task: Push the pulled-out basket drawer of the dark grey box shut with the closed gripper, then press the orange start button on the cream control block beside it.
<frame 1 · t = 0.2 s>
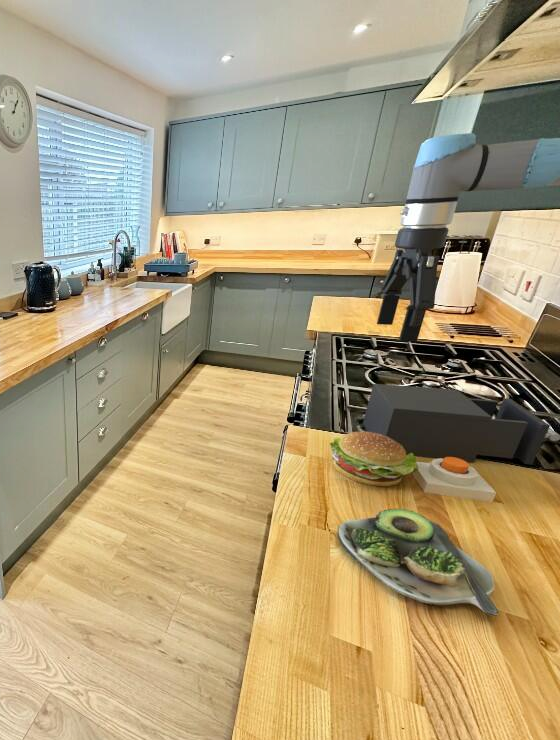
hand: (395, 332, 89), 26 cm above the table, tool pointing down, fingers open, 13 cm apart
start button: (454, 465, 80), point 4 cm above the table, slide at 0.1 cm
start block: (447, 484, 81), on the table
food: (366, 473, 86), on the table
dark grey box: (412, 441, 96), on the table
fryer drawer: (488, 427, 89), point 5 cm above the table, slide at 8.0 cm
salad plate: (406, 559, 66), on the table
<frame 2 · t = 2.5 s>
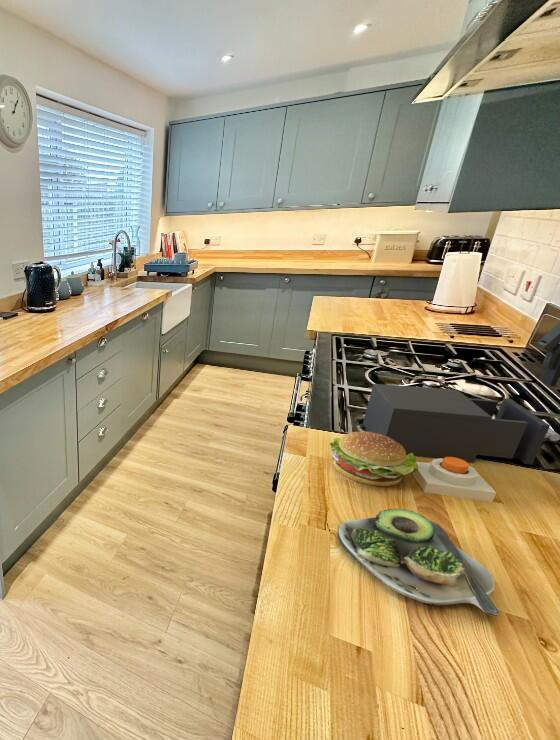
nothing on the table moved.
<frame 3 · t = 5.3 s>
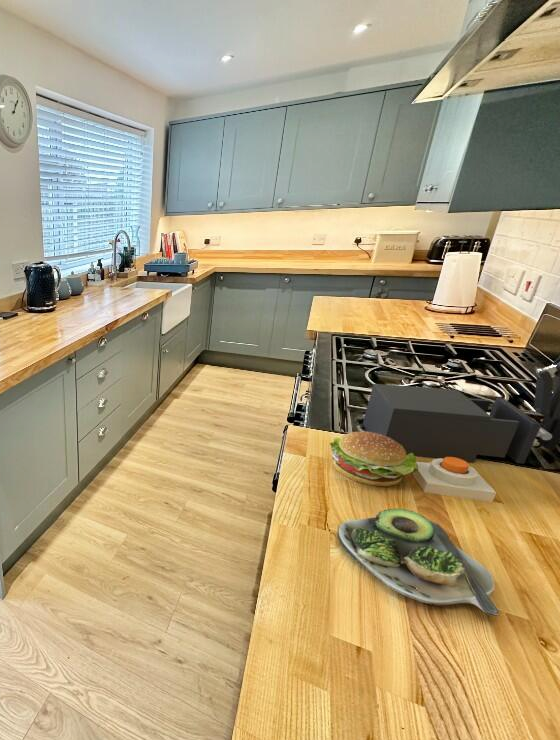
hand: (545, 445, 87), 3 cm above the table, tool pointing down, fingers closed
fryer drawer: (481, 426, 90), point 5 cm above the table, slide at 6.7 cm
everything else where it was.
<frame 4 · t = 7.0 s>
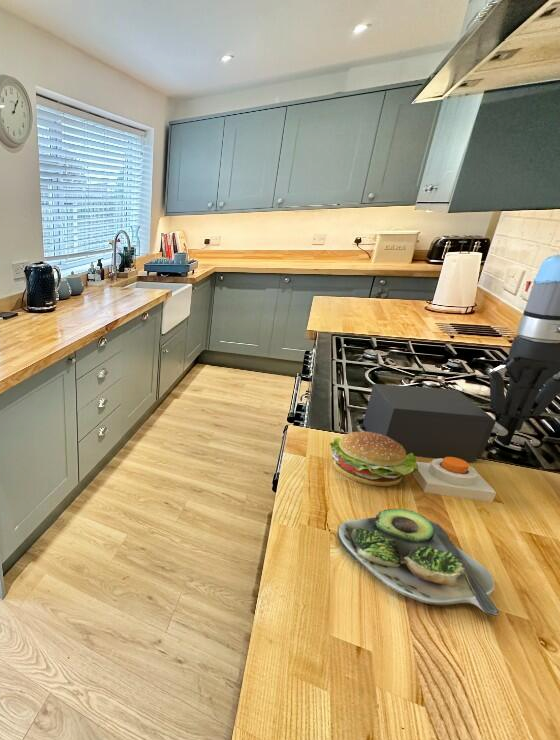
hand: (502, 442, 90), 2 cm above the table, tool pointing down, fingers closed
fryer drawer: (442, 422, 92), point 5 cm above the table, slide at 0.0 cm, touching dark grey box, gripper
everything else where it was.
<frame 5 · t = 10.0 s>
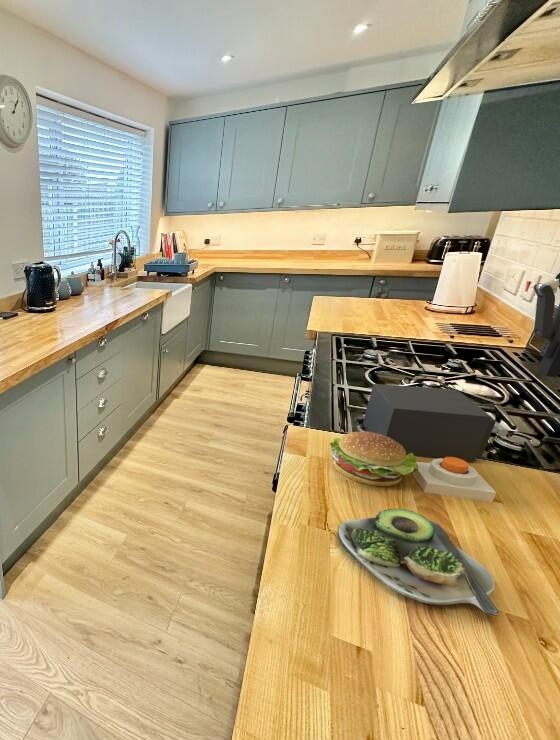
hand: (546, 374, 79), 20 cm above the table, tool pointing down, fingers closed
fryer drawer: (442, 422, 92), point 5 cm above the table, slide at 0.0 cm, touching dark grey box
everything else where it was.
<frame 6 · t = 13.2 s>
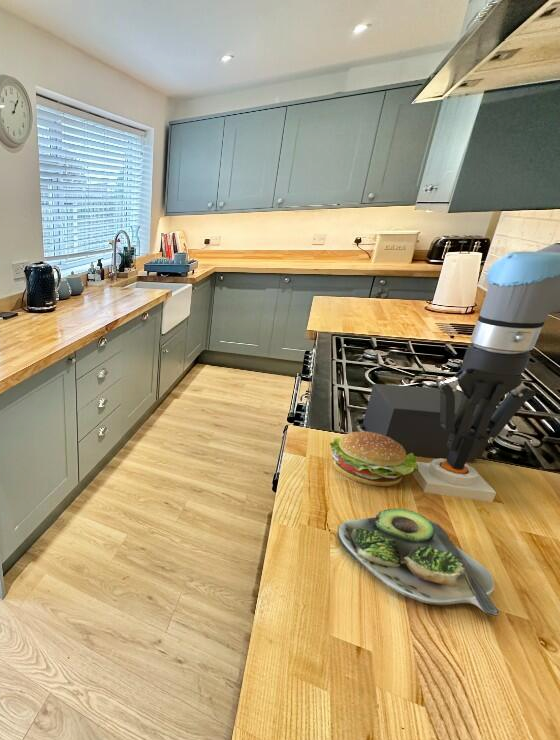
hand: (454, 464, 79), 5 cm above the table, tool pointing down, fingers closed
start button: (453, 469, 80), point 4 cm above the table, slide at -0.8 cm, touching gripper
everything else where it was.
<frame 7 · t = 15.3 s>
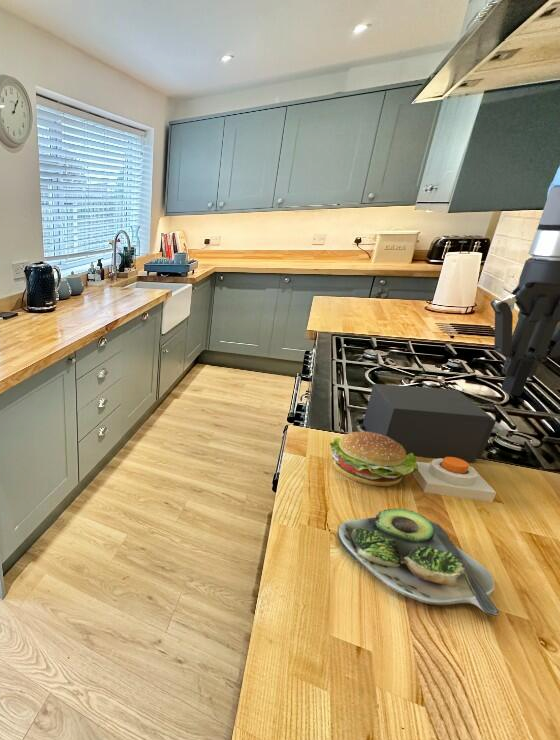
hand: (510, 392, 75), 19 cm above the table, tool pointing down, fingers closed
start button: (454, 465, 80), point 4 cm above the table, slide at 0.1 cm
everything else where it was.
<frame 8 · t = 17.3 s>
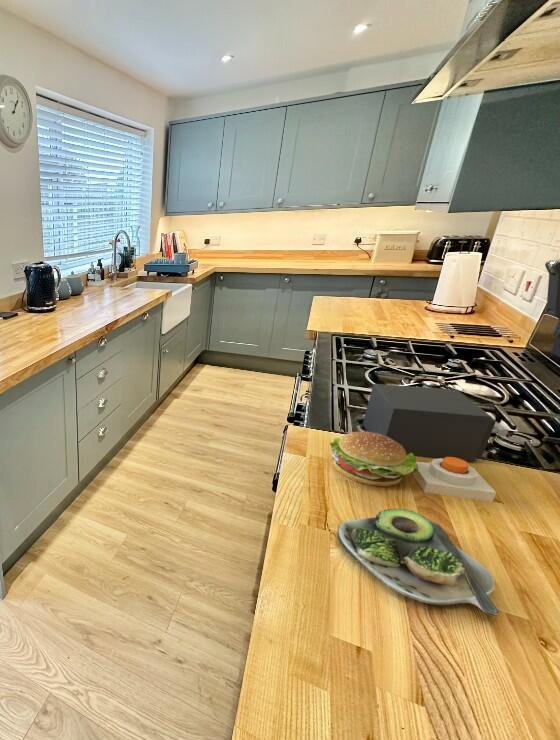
nothing on the table moved.
at the end: fryer drawer slide at 0.0 cm; start button pushed in 1.2 cm at the most during the clip, back to where it started at the end; start button slide at 0.1 cm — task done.
